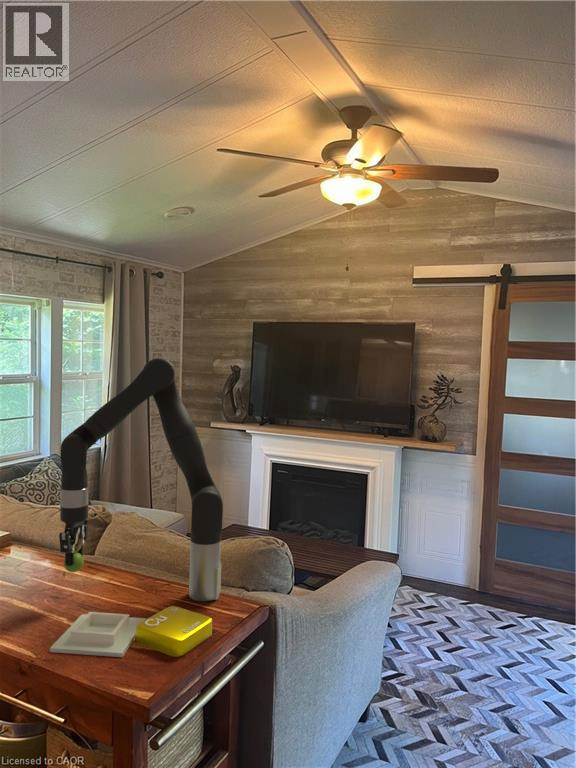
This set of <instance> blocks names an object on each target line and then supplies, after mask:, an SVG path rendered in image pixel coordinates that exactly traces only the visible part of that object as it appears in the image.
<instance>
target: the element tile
mask: <svg viewBox="0 0 576 768" xmlns="http://www.w3.org/2000/svg"><path fill="white" fill-rule="evenodd" d="M212 633H213V618H212V617H210V616H208V615H205V614H201V613H199V612H195V611H192V610H189V609H186V608H182V607H180V606H175V605H171V606H168V607H166V608H164V609H162V610H159V612H157V613H155V614H153V615H152V616H150V617H148V618H146V620H144V621H143V622H141V623H139V624H138V625H137V626H136V638H135V642H136V643H137V644H138V645H141V646H144V647H146V648H149V649H150V650H154V651H156V652H160V653H162V654H165V655H167V656H170V657H174V658H179V657H182V656H184V655H186V654H187V653H189V652H190V651H192V650H193V649H194V648H196V647H197V646H198V645H200V644H201V643H203V642H204V641H206V640H207V639H208V638H210V637H211V636H212V635H213V634H212Z"/></svg>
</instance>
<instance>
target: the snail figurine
mask: <svg viewBox="0 0 576 768" xmlns="http://www.w3.org/2000/svg"><path fill="white" fill-rule="evenodd" d="M84 529H85V528H84ZM80 537H81V535H80ZM70 541H74V540H70ZM82 543H83V539H82V538H78V540H77V544H75V547H74V564H73V565H72V566H66V565H65V558H63V559H64V560H63V567H64V569H65V570H66V571H67V572H70V573H76V572H78V571H80V570H81V569H82V568H83V566H84V563H85V560H84V555H83V556H82V555H81V554H80V553H77V552H78V551H79V550H80V548H81V546H82ZM71 545H72V544H71Z"/></svg>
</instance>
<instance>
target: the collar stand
mask: <svg viewBox="0 0 576 768" xmlns="http://www.w3.org/2000/svg"><path fill="white" fill-rule="evenodd" d="M146 619H147V618H145V617H134V616H133V617H130V614H127V613H111V612H99V611H89V612H88V613H87V614H86V613H85V614H84V613H82V614H81V615H79V617H78V618H76V620H75V621H74V622H73V623H72V624H71V625H70V627H68V629H66V630H65V632H64V633H63V634H62V635H61V636H59V638H57V640H56V641H55V642H54V643H53V644H52V645H51V646H50V648H49V653H58V654H74V655H84V656H85V655H88V656H101V657H112V658H114V657H116V658H123V657H124V656H125V654H126V652H127V651H128V649H129V648H130V646H131V645H132V644H133V642H134V641H135V640H136V626H137V625H138V624H139V623H141V622H143V621H144V620H146Z"/></svg>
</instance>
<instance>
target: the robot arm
mask: <svg viewBox="0 0 576 768" xmlns="http://www.w3.org/2000/svg"><path fill="white" fill-rule="evenodd" d="M175 371H176V370H175V367H174V365H173V364H172V363H171V362H170V361H169V360H167V359H165V358H161V357H156V358H153V359H150V360H148V361H147V363H146V364H145V365H144V366H143V369H142V371H140V373H139V374H138V375H137V376H136V378H134V379H133V380H132V382H131V383H130V384H129V385H127V387H125V388H124V389H123V390H122V391H120V392H119V393H118V394H117V395H115V396H114V397H112V398H111V399H110V400H109V401H107V402H106V403H105V404H103V406H101V407H100V408H99V409H98V410H96V411H95V412H94V413H93V414H92V415H90V417H88V418H87V420H85V422H83V423H82V424H80V426H78V427H77V428H75V429H73V431H71V432H70V433H69V434H68V435H66V436H65V438H63V440H62V441H61V444H60V448H59V449H60V455H59V456H60V466H61V477H60V478H61V481H60V482H61V486H60V487H61V488H60V489H61V491H60V499H59V501H60V503H59V506H60V507H59V511H60V513H59V514H60V515H59V516H60V519H59V520H60V521H61V522H62V523H64V524H65V526H64V531H63V532H60V533H59V534H58V537H59V546H60V547H59V548H60V549H59V550H60V553H64V554H65V555H64V557H65V558H64V559H65V565H66V566H72V565H73V564H74V547H75V544H77V540H78V538H82V539H83V543H82V546H81V548H80V550H79V551H78V552H77V553H80V554H81V555H82V556H83V557H84V545H85V541H87V540H88V532H89V531H88V529H89V520H88V518H89V490H88V489H89V488H88V478H89V477H88V470H87V455H88V451H89V449H90V448H91V447H93V446H94V445H95V444H96V443H97V442H98V441H99V440H100V439H101V440H102V438H104V437H106V436H107V435H109V434H110V433H111V432H112V431H113V430H114V429H115V428H116V427H118V425H120V424H121V423H122V422H123V421H124V420H125V419H126V418H128V416H129V415H130V414H131V413H133V412H134V410H135V409H137V408H138V407H139V406H140V405H141V404H142V403H144V402H145V401H146V400H147V399H149V398H150V397H153V399H154V402H155V405H156V407H157V409H158V413H159V417H160V422H161V425H162V430H163V433H164V436H165V439H166V441H167V443H168V447H169V450H170V452H171V454H172V456H173V458H174V460H175V462H176V464H177V465H178V467H179V469H180V470H181V472H182V475H184V478H185V481H186V485H187V487H188V491H189V495H190V500H191V527H190V528H191V529H190V550H189V551H190V552H189V553H190V554H189V579H188V580H189V581H188V585H189V586H188V597H189V598H190V599H191V600H193V601H196V602H197V601H198V602H209V601H217V600H218V599H219V597H220V594H221V590H222V589H221V586H222V561H221V549H222V548H221V546H222V545H221V544H222V533H223V532H222V531H223V515H224V513H223V512H224V504H223V502H224V501H223V498H222V495H221V493H220V491H219V490H218V488H217V486H216V484H215V482H214V480H213V478H212V476H211V474H210V472H209V470H208V467H207V463H206V457H205V453H204V450H203V447H202V446H203V445H202V442H201V440H200V437H199V433H198V431H197V428H196V427H195V424H194V422H193V419H192V418H191V416H190V414H189V412H188V410H187V409H186V407H185V405H184V403H183V400H182V399H181V396H180V394H179V391H178V387H177V384H176V379H175V375H176V372H175ZM84 528H85V529H84ZM80 535H81V537H80ZM70 540H74V541H70ZM71 544H72V545H71Z"/></svg>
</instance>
